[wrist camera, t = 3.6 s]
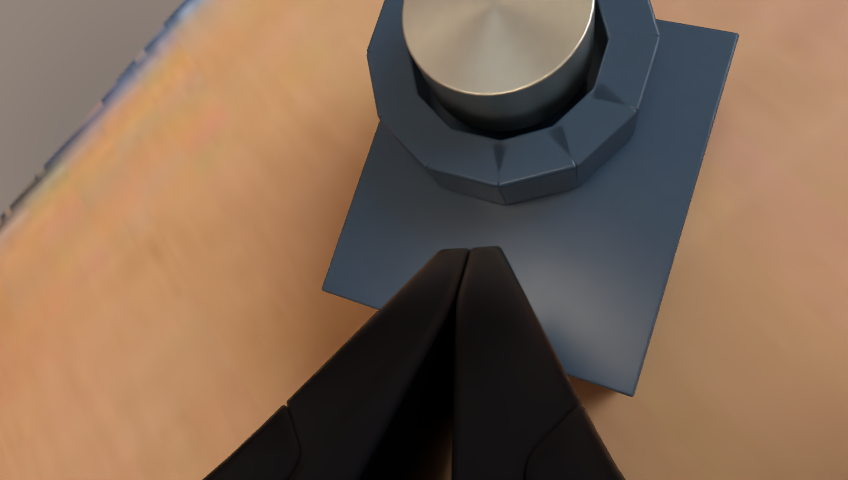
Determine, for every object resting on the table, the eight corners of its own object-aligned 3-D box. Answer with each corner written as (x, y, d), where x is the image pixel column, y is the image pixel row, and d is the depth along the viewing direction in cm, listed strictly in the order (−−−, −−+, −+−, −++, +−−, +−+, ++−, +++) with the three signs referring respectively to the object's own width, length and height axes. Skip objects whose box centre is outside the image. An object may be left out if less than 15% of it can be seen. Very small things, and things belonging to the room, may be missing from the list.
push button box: (622, 388, 20) (640, 404, 14) (366, 301, 23) (285, 280, 16) (716, 67, 21) (773, -54, 15) (461, 18, 24) (418, -101, 17)
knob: (564, 149, 16) (561, 115, 13) (403, 110, 17) (375, 73, 15) (615, -11, 16) (620, -71, 14) (454, -37, 17) (435, -96, 15)
